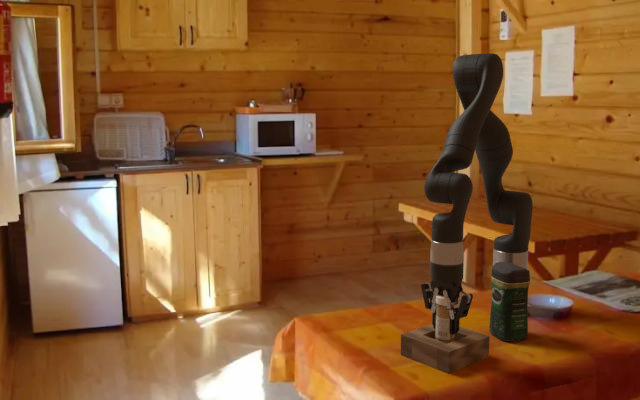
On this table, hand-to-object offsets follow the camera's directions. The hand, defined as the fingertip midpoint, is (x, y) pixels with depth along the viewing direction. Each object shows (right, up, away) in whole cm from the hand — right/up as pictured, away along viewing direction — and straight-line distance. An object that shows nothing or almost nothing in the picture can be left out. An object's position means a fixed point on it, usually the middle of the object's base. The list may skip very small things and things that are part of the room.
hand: (445, 330), depth 169 cm
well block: (0, -6, +1) cm, 6 cm away
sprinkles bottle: (0, -5, +1) cm, 5 cm away
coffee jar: (+18, -4, +14) cm, 23 cm away
